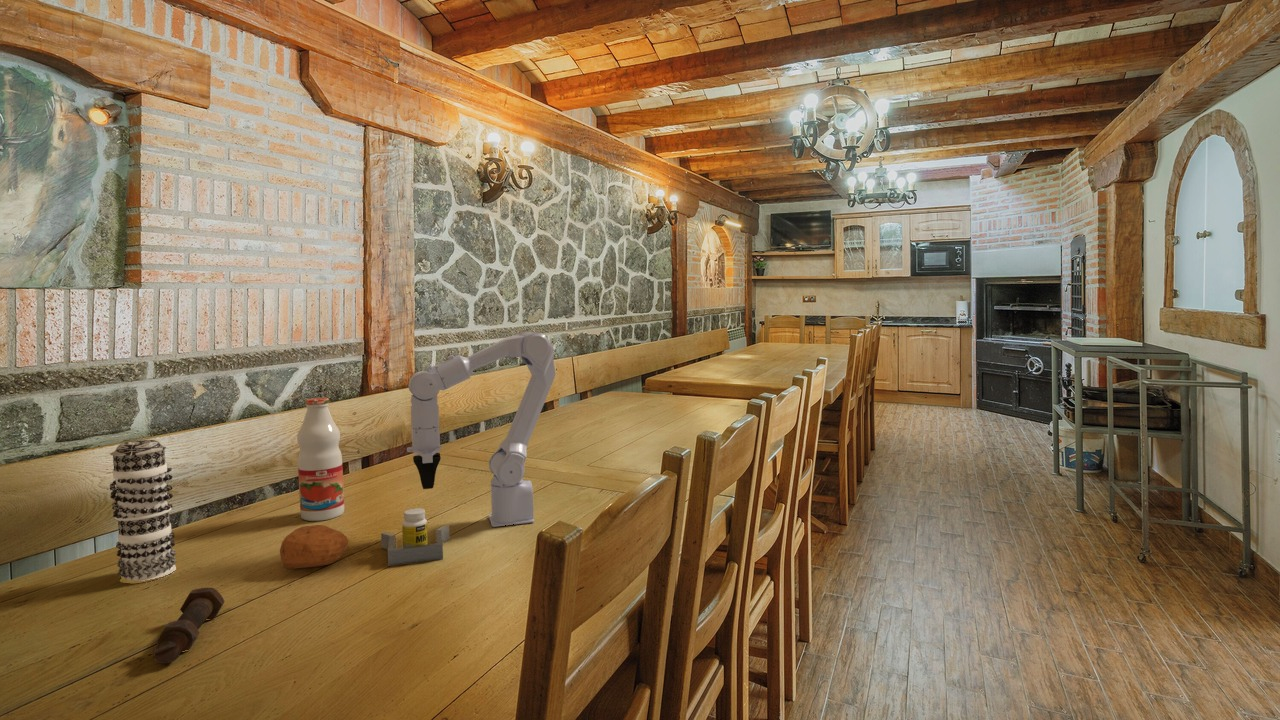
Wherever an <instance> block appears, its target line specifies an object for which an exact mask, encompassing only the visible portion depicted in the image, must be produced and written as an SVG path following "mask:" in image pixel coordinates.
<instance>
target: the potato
mask: <svg viewBox="0 0 1280 720" xmlns="http://www.w3.org/2000/svg"><path fill="white" fill-rule="evenodd" d="M348 545H349V539H348V537H347V536H346V535H345V534H344V533H343V532H342V531H340V530H337V529H334V528H331V527H329V526H327V525H323V524H313V525H305V526H304V525H303V526H300V527H298V528H296V529H294V530H293V531H291V532H290V533H289V534H287V535H286V536H285V537H284V539H283V540H282V541H281V545H280V548H279V555H280V561H281V563H282V565H284V567H286V568H287V569H300V568H302V569H303V568H317V567H322V566H328V565H331V564H333V563H335V562H337V560H338V559H340V558H341V557H342V556H343V554H344V553H345V551H346V549H347V547H348Z"/></svg>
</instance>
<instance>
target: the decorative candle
mask: <svg viewBox="0 0 1280 720" xmlns="http://www.w3.org/2000/svg"><path fill="white" fill-rule="evenodd" d="M166 449H167V446H165V445H162V444H161V443H160V442H159V441H158V440H155V439H139V440H132V441H126V442H122V443H120V444H119V445H117V446H116V449H115V450H114V451H112V452H110V454H109V455H110V456H112V463H113V464H112V465H113V469H112V478H113V479H114V480H113V481H112V482H111V483H110V484H109V490H110V491H111V492H110V496H109V498H110V499H113V500H114V502H113V503H112V505H111V506H112V507H111V509H113V512H112V514H113V515H112V517H113V518H114V520H116V521H117V523H118V524H117V525H118V532H117V542H116V545H115V547H116V549H119V550H117V551H116V556H117V557H120V558H119V559H118V560H117V563H116V564H117V567H118V571H117V575H119V577H120V576H122V577H123V578H125V579H127V580H132V581H138V580H139V581H145V580H150V579H155V578H159V577H163V576H165V575H168V574H170V573H172V572H173V571H175V570H176V571H177V567H176V566H177V565H176V563H177V558H176V557H175V556H176V555H177V553H176V551H177V550H176V549H174V548H173V547H174V546H176V544H175V542H176V541H175V540H173V539H174V538H175V533H174V532H173V531H172V523H171V521H170V512H171V511H172V508H173V504H171V503H169V502H168V500H171V499H172V498H173V497H174V496H173V494H172V493H171V492H170V491H171V490H173V486H172V485H169V483H167V481H168V482H169V481H171V480H172V479H173V475H172V474H170V472H172V467H168V465H167V464H168V463H167V462H166V451H165V450H166ZM169 492H170V493H169ZM176 571H175V572H176ZM173 573H174V572H173ZM173 573H172V574H173ZM168 576H169V575H168Z"/></svg>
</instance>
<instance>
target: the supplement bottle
mask: <svg viewBox="0 0 1280 720" xmlns="http://www.w3.org/2000/svg"><path fill="white" fill-rule="evenodd" d="M425 517H426V511H425V509H424V508H420V507H418V508H417V507H415V508H409V509H406V510H404V511H403V521H402V523H401V527H402V529H401V531H402V547H410V546H418V545H426V544H428V520H427V519H426V518H425Z"/></svg>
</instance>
